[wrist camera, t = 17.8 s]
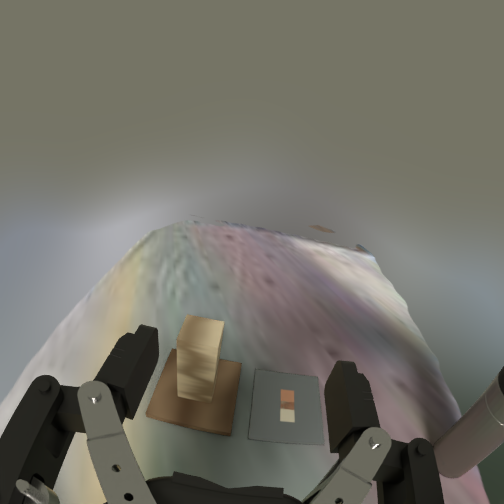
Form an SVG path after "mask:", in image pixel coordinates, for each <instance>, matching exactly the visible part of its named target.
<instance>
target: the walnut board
mask: <svg viewBox="0 0 504 504" xmlns="http://www.w3.org/2000/svg"><path fill="white" fill-rule="evenodd" d="M241 364H242V363H238V362H233V361H227V360H222V359H219V365H218V372H217V379H216V384H215V389H214V393H213V398H212V403H206V402H201V401H196V400H192V399H187V398H183V397H179V396H178V391H177V350H176V349H172V350H171V352H170V355H169V357H168V359H167V362H166V364H165V367H164V369H163V371H162V374H161V376H160V379H159V381H158V384H157V386H156V388H155V391H154V393H153V396H152V398H151V401H150V403H149V406H148V408H147V411H146V417H150V418H153V419H156V420H160V421H164V422H167V423H171V424H175V425H179V426H183V427H187V428H191V429H196V430H200V431H205V432H210V433H215V434H221V435H226V436H230V435H231V429H232V423H233V417H234V410H235V404H236V397H237V391H238V384H239V377H240V371H241Z"/></svg>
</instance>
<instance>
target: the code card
mask: <svg viewBox="0 0 504 504" xmlns="http://www.w3.org/2000/svg"><path fill="white" fill-rule="evenodd" d="M248 439H252V440H260V441H269V442H279V443H292V444H309V445H324V436H323V424H322V413H321V403H320V393H319V384H318V377H314V376H305V375H296V374H288V373H280V372H273V371H266V370H260V369H255V379H254V388H253V398H252V408H251V417H250V426H249V436H248Z"/></svg>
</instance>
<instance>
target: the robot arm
mask: <svg viewBox="0 0 504 504" xmlns="http://www.w3.org/2000/svg"><path fill="white" fill-rule="evenodd" d="M158 357H159V343H158V329H157V328H154V327H150V326H146V325H142V324H141V325H140V326H139V327H138V329H137V331H136V332H135V334H132V333H126V334H125V335H124V336H122V337H121V338H119V340H118V341H117V343H116V345H115V346H114V348H113V349H112V351H111V353H110V355H109V356H108V357H107V359H106V361H105V362H104V364H103V366H102V367H101V369H100V371H99V372H98V374H97V376H96V377H95V379H94V380H93V381H89V382H86V383H84V384H83V385H82V386H81V387H72V386H63V385H60V384H59V382H58V381H57V380H56V379H55V378H54V377H52V376H50V375H42V376H39V377H37V378H36V379H35V380H34V381H33V382H32V383H31V385H30V387H29V388H28V390H27V392H26V393H25V395H24V396H23V398H22V400H21V402H20V403H19V405H18V407H17V408H16V410H15V412H14V414H13V415H12V417H11V419H10V421H9V423H8V425H7V426H6V428H5V430H4V432H3V434H2V436H1V438H0V504H60V501H59V498H58V496H57V495H56V493H55V492H54V491H53V488H54V485H55V482H56V480H57V477H58V474H59V472H60V469H61V466H62V464H63V461H64V459H65V456H66V454H67V451H68V449H69V446H70V444H71V442H72V439H73V437H74V434H75V432H80V433H86V434H87V438H88V440H87V446H88V450H89V453H90V456H91V459H92V462H93V465H94V468H95V471H96V474H97V477H98V480H99V482H100V485H101V487H102V490H103V493H104V495H105V498H106V500H107V502H106V503H104V504H361V503H362V501H363V500H364V498H365V497H366V495H367V494H368V492H369V491H370V489H371V487H372V484H371V481H372V480H374V481H377V495H378V504H444V499H443V493H442V487H441V482H440V477H439V472H440V473H441V474H442V475H444V476H446V477H448V478H457V477H460V476H462V475H463V474H465V473H466V472H468V471H469V470H470V469H472V468H473V467H474V466H475V465H477V464H478V463H479V462H481V461H482V460H483V459H484V458H485V457H487V456H488V455H489V454H490V453H491V452H493V451H494V450H495V449H496V448H497V447H498V446H500V444H502V443H503V442H504V367H503V368H502V369H501V371H500V372H499V373H498V375H497V376H496V377H495V379H494V380H493V381H492V383H491V384H490V385H489V387H488V388H487V389H486V390H485V391H484V393H483V394H482V395H481V396H480V397H479V399H478V400H477V401H476V402H475V403H474V404H473V406H471V408H470V409H469V410H468V411H467V412H466V413H465V414H464V415H463V416H462V417H461V418H460V419H459V420H458V421H457V422H456V423H455V424H454V425H453V426H452V427H451V428H450V429H449V430H448V431H447V432H446V433H445V434H444V435H443V436H442V437H441V438H440V439H439V440H438V441H437V442H436V443H435V445H434V447H432V445H431V443H430V442H429V441H427V440H426V439H423V438H415V439H413V440H412V441H411V442H410V443H404V442H400V441H396V440H392V439H391V438H390V436H389V434H388V433H387V432H386V431H385V430H383V429H381V428H380V424H379V420H378V415H377V411H376V407H375V403H374V401H373V395H372V393H371V388H370V384H369V381H368V380H367V379H366V377H365V376H364V374H361V373H358V372H357V368H356V364H355V363H354V362H350V361H337V362H336V364H335V366H334V368H333V370H332V372H331V374H330V376H329V378H328V380H327V382H326V384H325V390H324V395H325V404H326V413H327V423H328V433H329V443H330V453H339V459H338V460H337V461H336V463H335V464H334V465H333V466H332V468H331V469H330V470H329V472H328V473H327V474H326V475H325V476H324V478H323V479H322V480H321V481H320V483H319V484H318V485H317V486H316V487H315V488H314V489H313V490H312V491H311V492H310V493H309V494H308V495H307V496H306V497H305V498H304V499H303V500H302V502H301V501H299V500H298V499H296V498H294V497H292V496H289V495H287V494H283V489H284V488H276V487H263V486H252V487H242V488H225V487H223V486H220V485H218V484H215V483H213V482H210V481H208V480H205V479H203V478H201V477H196V476H191V475H187V474H183V473H179V472H175V471H174V473H173V476H166V477H157V478H153V479H149V480H147V481H145V479H144V477H143V474H142V472H141V470H140V468H139V466H138V464H137V461H136V459H135V457H134V454H133V452H132V450H131V447H130V445H129V442H128V440H127V437H126V434H125V432H124V429H123V426H122V424H123V422H124V419H125V417H126V418H129V419H132V420H133V418H134V416H135V413H136V411H137V409H138V406H139V404H140V402H141V399H142V397H143V395H144V392H145V390H146V388H147V385H148V383H149V381H150V378H151V376H152V374H153V372H154V369H155V367H156V365H157V362H158ZM438 471H439V472H438Z"/></svg>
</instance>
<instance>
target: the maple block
mask: <svg viewBox="0 0 504 504" xmlns="http://www.w3.org/2000/svg"><path fill="white" fill-rule="evenodd" d="M223 329H224V322H222V321H217V320H212V319H207V318H202V317H197V316H192V315H188V314H187V316H186V318H185V321H184V323H183V325H182V328H181V330H180V333H179V335H178V337H177V391H178V396H179V397H183V398H187V399H192V400H196V401H201V402H206V403H212V398H213V393H214V389H215V384H216V379H217V372H218V365H219V358H220V350H221V343H222V336H223Z"/></svg>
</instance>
